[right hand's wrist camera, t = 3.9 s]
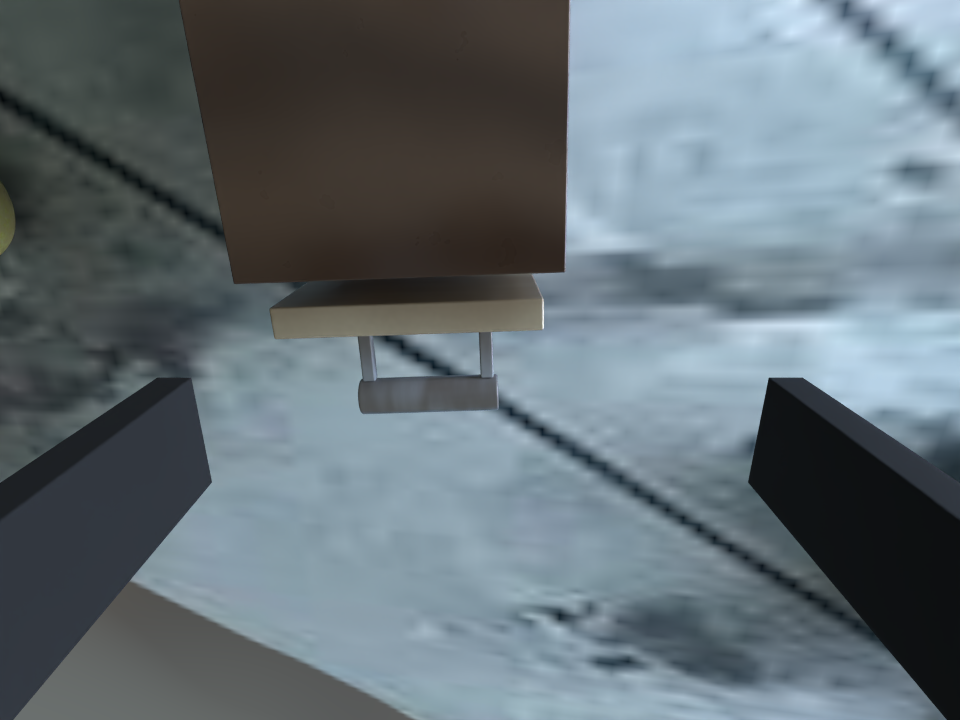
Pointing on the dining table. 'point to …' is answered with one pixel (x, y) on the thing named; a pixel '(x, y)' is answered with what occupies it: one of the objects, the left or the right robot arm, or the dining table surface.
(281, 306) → the drawer
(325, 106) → the cabinet
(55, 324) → the dining table surface
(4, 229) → the fruit
